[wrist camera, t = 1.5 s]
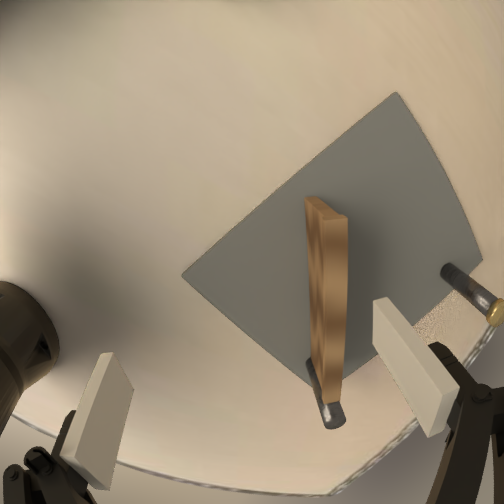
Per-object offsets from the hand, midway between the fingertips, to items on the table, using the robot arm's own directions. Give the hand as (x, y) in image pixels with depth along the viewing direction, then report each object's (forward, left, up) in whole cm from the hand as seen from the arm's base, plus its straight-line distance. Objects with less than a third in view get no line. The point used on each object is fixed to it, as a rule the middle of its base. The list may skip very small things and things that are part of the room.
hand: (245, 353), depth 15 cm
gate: (+2, -10, -18) cm, 21 cm away
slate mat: (+8, -13, -19) cm, 24 cm away
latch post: (+17, -22, -19) cm, 34 cm away
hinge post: (-4, -20, -19) cm, 28 cm away
